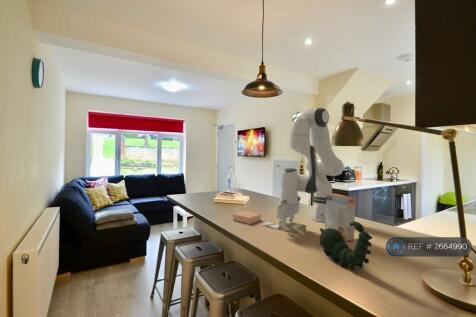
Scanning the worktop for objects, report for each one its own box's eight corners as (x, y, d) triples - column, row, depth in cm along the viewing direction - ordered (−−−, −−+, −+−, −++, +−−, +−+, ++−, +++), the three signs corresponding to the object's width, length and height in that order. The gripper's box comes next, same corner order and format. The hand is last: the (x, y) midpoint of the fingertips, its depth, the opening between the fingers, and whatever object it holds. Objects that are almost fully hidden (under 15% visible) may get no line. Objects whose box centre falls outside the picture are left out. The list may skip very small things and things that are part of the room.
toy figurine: (373, 278, 86) (326, 245, 109) (380, 227, 84) (331, 204, 107) (352, 282, 83) (309, 247, 106) (359, 229, 80) (313, 205, 104)
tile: (260, 214, 148) (244, 210, 155) (249, 218, 138) (233, 214, 145) (260, 220, 148) (244, 216, 155) (249, 224, 138) (232, 220, 145)
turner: (306, 232, 127) (307, 224, 127) (302, 235, 122) (302, 227, 122) (267, 223, 141) (267, 215, 141) (261, 225, 137) (262, 217, 137)
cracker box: (354, 240, 118) (356, 198, 117) (344, 242, 115) (347, 198, 115) (333, 231, 131) (335, 192, 130) (324, 232, 128) (326, 193, 128)
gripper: (285, 202, 119) (284, 230, 120) (301, 197, 136) (300, 221, 136) (274, 200, 123) (273, 227, 124) (291, 195, 140) (290, 219, 140)
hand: (287, 224), depth 130 cm, fingers open, 6 cm apart
